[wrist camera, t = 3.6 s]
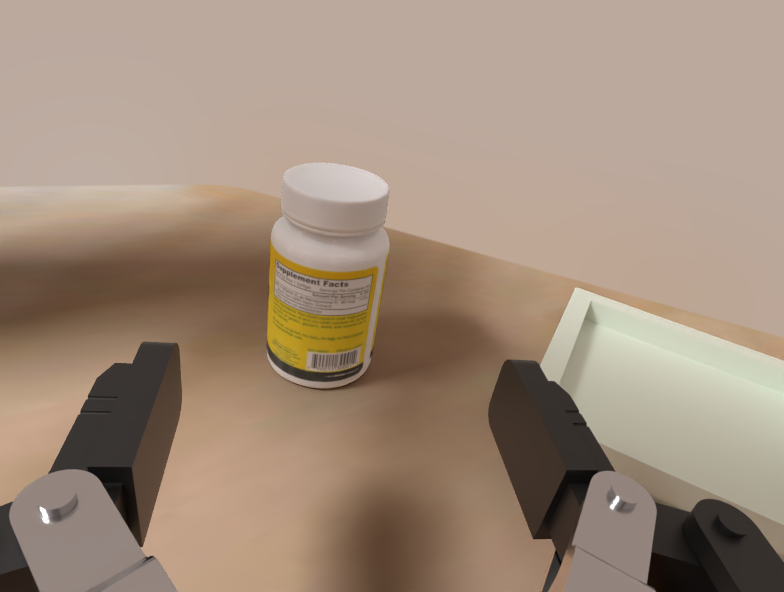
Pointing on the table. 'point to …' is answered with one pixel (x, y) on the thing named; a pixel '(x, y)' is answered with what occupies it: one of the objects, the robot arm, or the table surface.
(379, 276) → the supplement bottle
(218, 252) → the table surface
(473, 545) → the table surface
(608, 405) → the tray
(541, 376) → the robot arm
